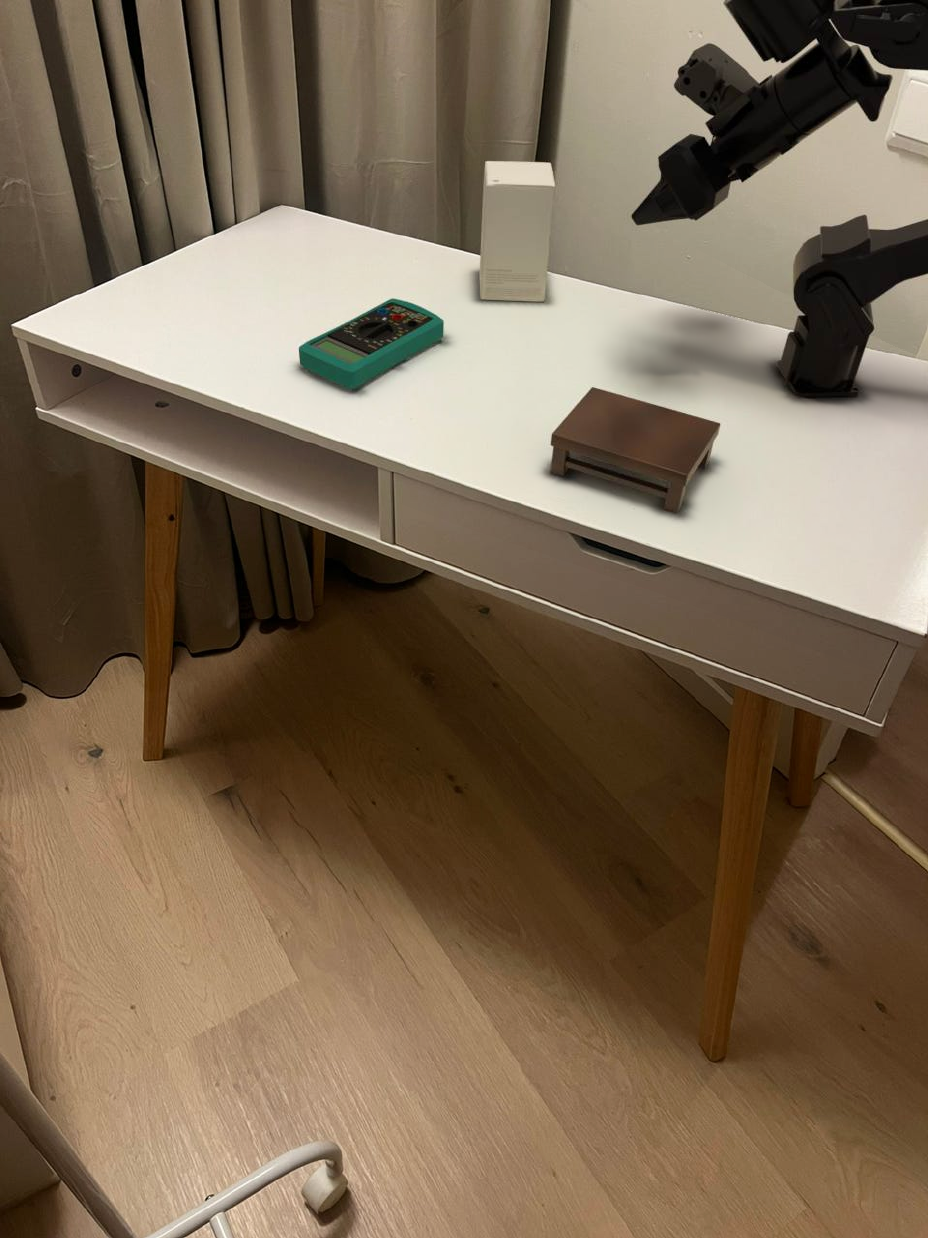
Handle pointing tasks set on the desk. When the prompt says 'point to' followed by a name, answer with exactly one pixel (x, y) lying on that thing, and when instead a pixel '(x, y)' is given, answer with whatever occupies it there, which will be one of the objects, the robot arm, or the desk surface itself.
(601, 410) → the small table
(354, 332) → the digital multimeter
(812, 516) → the desk surface
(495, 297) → the white packaging box
